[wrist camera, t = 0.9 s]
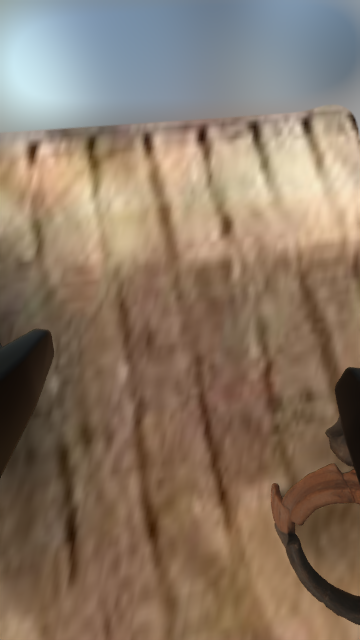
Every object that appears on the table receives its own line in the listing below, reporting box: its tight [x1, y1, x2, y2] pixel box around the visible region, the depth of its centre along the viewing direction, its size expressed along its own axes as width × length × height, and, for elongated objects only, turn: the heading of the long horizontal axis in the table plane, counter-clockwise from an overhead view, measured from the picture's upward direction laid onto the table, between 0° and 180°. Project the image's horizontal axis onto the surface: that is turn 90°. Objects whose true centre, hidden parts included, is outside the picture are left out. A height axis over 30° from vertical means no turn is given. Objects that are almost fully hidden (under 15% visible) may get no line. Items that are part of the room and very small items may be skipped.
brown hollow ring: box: [271, 415, 360, 625], centre depth 19 cm, size 12×10×8 cm
